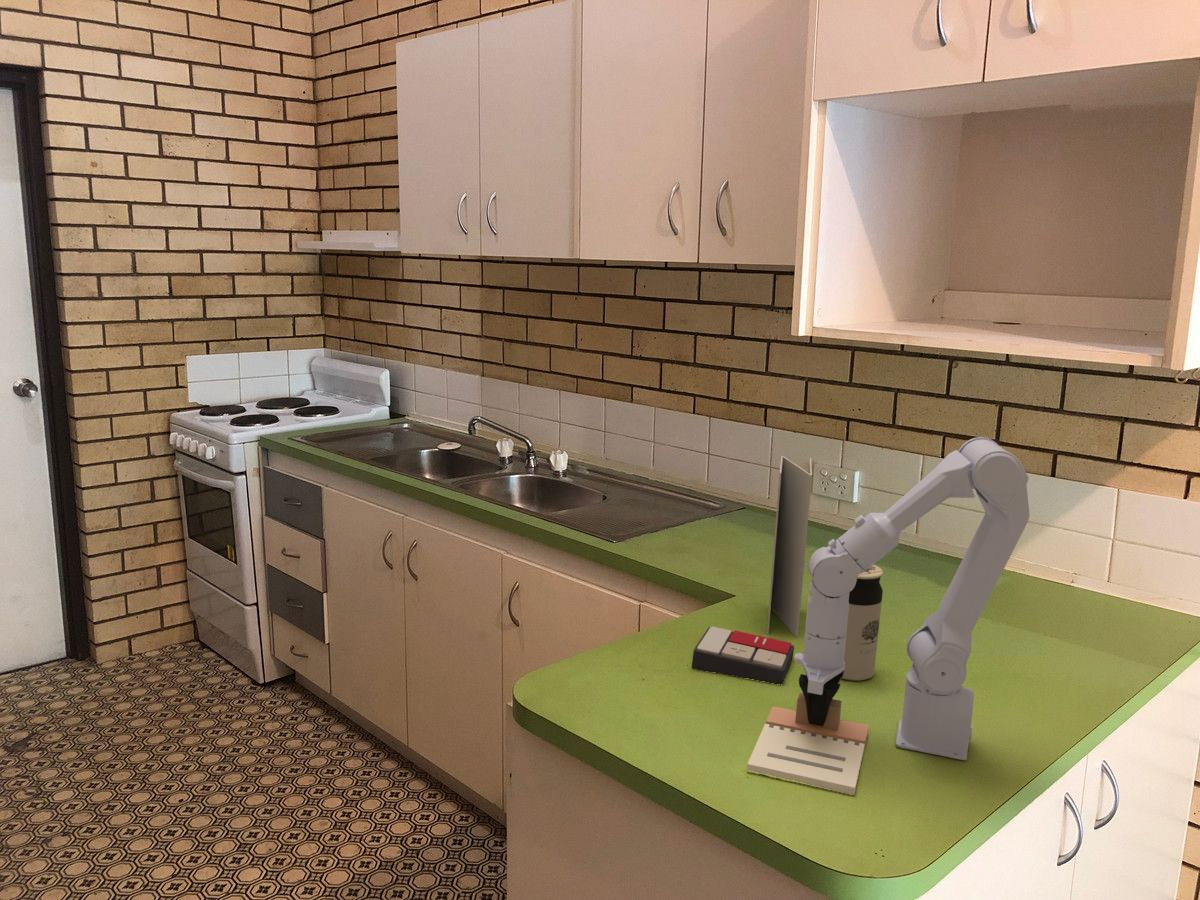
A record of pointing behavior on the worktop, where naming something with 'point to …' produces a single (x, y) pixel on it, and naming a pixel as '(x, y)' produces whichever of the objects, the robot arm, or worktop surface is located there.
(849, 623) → the travel mug
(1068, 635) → the worktop surface
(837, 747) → the cream notepad
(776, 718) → the pink block with handle
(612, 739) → the worktop surface
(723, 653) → the calculator
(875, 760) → the worktop surface
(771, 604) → the brochure
